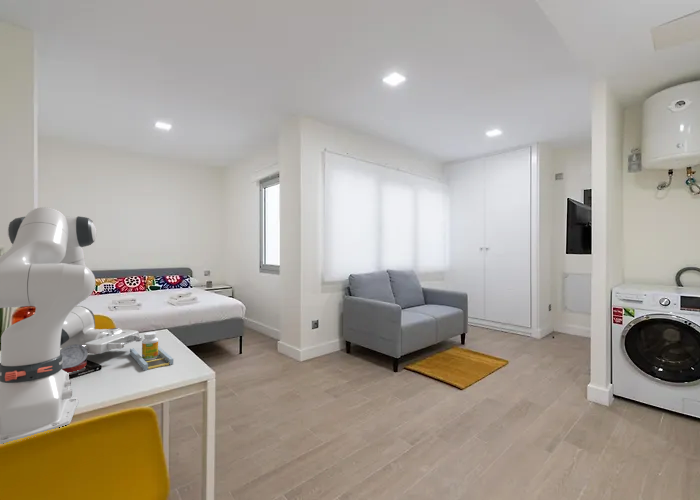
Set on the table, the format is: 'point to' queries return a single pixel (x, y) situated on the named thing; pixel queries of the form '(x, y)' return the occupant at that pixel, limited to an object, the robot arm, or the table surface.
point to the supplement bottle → (150, 346)
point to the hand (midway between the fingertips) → (132, 342)
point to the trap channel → (152, 364)
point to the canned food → (74, 357)
